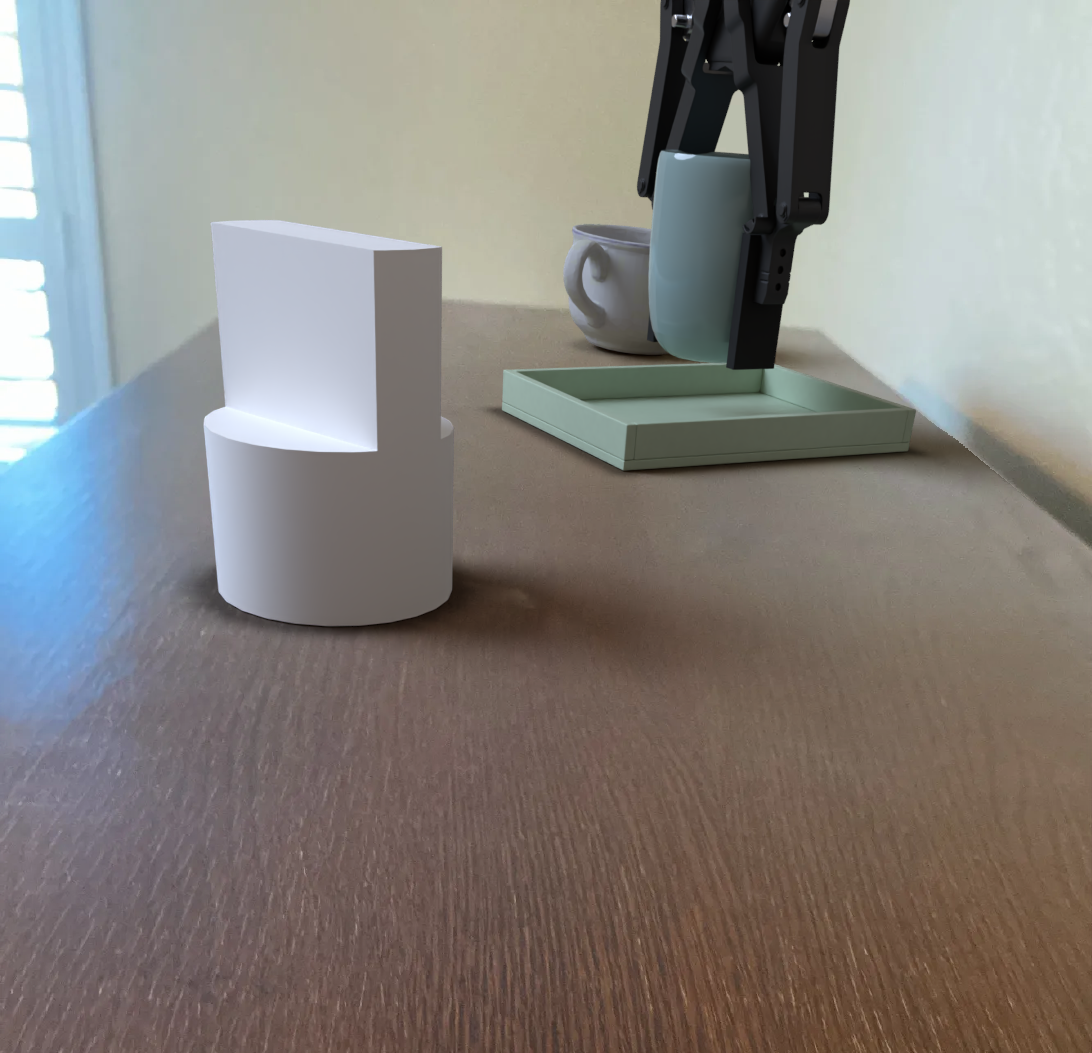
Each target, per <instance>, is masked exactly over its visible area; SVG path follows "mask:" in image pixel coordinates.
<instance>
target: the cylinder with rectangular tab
mask: <svg viewBox="0 0 1092 1053" xmlns="http://www.w3.org/2000/svg"><path fill="white" fill-rule="evenodd" d="M210 228H211V229H210V230H211V231H210V232H211V243H212V245H211V246H212V257H213V270H214V282H215V283H214V284H215V293H216V294H215V295H216V306H217V319H218V320H217V321H218V331H219V344H220V356H221V369H222V370H221V371H222V382H223V395H224V406H223V407H220V408H217V409H214V410H212V411H211V412H209V413H208V414H207V415H205V416H204V418H203V434H204V444H205V455H206V466H207V478H208V490H209V499H210V500H209V501H210V511H211V512H210V513H211V521H212V522H211V524H212V532H213V544H214V555H215V565H216V566H215V568H216V578H217V589H218V590H217V591H218V593H219V594H220V596H221V597H222V599H224V601H225V602H226V603H228V604H229V605H231V606H233V607H236V608H237V609H238V610H240V611H242V612H244V613H248V614H251V615H254V616H258V617H260V618H264V619H268V620H273V621H278V622H284V623H289V624H294V625H295V624H296V625H308V626H309V625H310V626H322V627H352V626H353V627H357V626H359V627H360V626H368V625H369V626H370V625H377V624H387V623H394V622H397V621H402V620H407V619H411V618H416V617H418V616H421V615H423V614H427V613H429V612H431V611H434V610H436V609H437V608H439V607H440V606H442V605H443V604H444V603H446V602H447V601H448V600H449V598H450V596H451V593H452V591H453V559H454V558H453V556H454V555H453V554H454V553H453V552H454V551H453V549H454V547H453V546H454V479H455V478H454V476H455V475H454V473H455V472H454V471H455V470H454V467H455V463H454V462H455V427H454V425H453V423H452V422H451V420H449V419H448V418H446V417H445V416H442V340H443V339H442V332H443V330H442V329H443V327H442V325H443V324H442V322H443V321H442V318H443V315H442V314H443V297H442V296H443V246H440V245H434V244H429V243H421V242H415V241H409V240H404V239H397V238H391V237H385V236H378V235H372V234H367V233H360V232H355V231H348V230H341V229H337V228H336V229H335V228H329V227H323V226H317V225H312V224H311V225H310V224H305V223H301V222H299V223H298V222H293V221H287V220H280V219H252V220H251V219H242V220H221V221H219V220H218V221H211V222H210Z"/></svg>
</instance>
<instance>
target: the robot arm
mask: <svg viewBox="0 0 1092 1053" xmlns="http://www.w3.org/2000/svg"><path fill="white" fill-rule="evenodd" d="M659 2H660V3H659V43H658V50H657V56H656V62H655V68H654V74H653V75H654V76H653V82H652V88H651V94H650V100H649V107H648V112H647V118H646V119H647V121H646V125H645V126H646V127H645V130H644V131H645V132H644V137H643V144H642V150H641V156H640V163H639V168H638V175H637V181H636V192H637V196H639V198H647V199H648V200H649V201H650V203H651V205H650V206H651V209H652V211H653V203H654V192H655V181H656V172H657V164H658V158H659V154H660V152H661V150H681V151H683V152H685V153H690V154H706V153H710V152H716V149H717V146H718V143H719V139H720V136H721V134H722V131H723V127H724V124H725V121H726V118H727V114H728V112H729V108H730V106H731V102H732V99H733V96H734V95H735V93H736V92H738V91H740V92H741V93H742V96H743V107H744V118H745V120H744V121H745V130H746V142H747V154H748V156H749V159H750V180H751V192H752V204H753V216H754V219H751V220H750V221H748V222H746V223H745V224H743V225H742V226H743V230H744V232H745V233H743V234H742V242H741V250H740V258H739V266H738V275H737V283H736V291H735V299H734V307H733V315H732V323H731V331H730V339H729V347H728V355H727V363H726V368H729V369H732V370H748V369H774V364H775V363H776V356H777V349H778V342H779V336H780V328H781V322H782V314H783V308H784V305H785V303H786V300H787V299H788V298H787V297H788V295H789V287H790V281H791V276H792V275H791V273H792V269H793V262H794V255H795V247H796V242H797V239H798V236H800V235H802V233H803V232H804V230H805V229H807V228H810V227H812V226H814V225H815V226H822V225H823V224H825V223H826V221H827V220H828V218H829V213H830V204H831V203H830V202H831V190H832V189H831V187H832V172H833V157H834V156H833V154H834V140H835V139H834V138H835V124H836V123H835V122H836V109H837V92H838V91H837V90H838V77H839V75H838V74H839V63H840V62H839V61H840V60H839V59H840V46H841V43H842V38H843V34H844V29H845V25H846V21H847V17H848V13H849V10H850V9H849V8H850V4H851V0H660V1H659ZM805 194H808V196H805ZM775 199H777V204H776V205H775V206H774V200H775ZM647 340H648V341H651V342H658V341H657V339H656V337H655V335H654V332H653V329H652V325H651V320H650V312H649V322H648V333H647Z"/></svg>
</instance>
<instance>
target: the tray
mask: <svg viewBox="0 0 1092 1053" xmlns="http://www.w3.org/2000/svg"><path fill="white" fill-rule="evenodd" d="M501 398H502V400H501V401H502V402H501V410H502V412H505V413H507V414H509V415H511V416H513V417H515V418H517V419H518V420H521V421H523V422H525V423H527V424H529V425H531V426H533V427H534V428H537V429H539V430H541V431H543V432H545V433H547V434H549V435H551V436H552V437H555V438H557V439H559V440H561V441H563V442H565V443H567V444H569V445H571V446H573V447H575V448H577V449H579V450H582V451H583V452H585V453H587V454H589V455H591V456H593V457H595V458H597V459H598V460H599V459H600V460H601V461H603V462H605V463H607V464H609V465H610V466H611V465H612V466H613V467H615V468H617V469H619V470H621V471H623V472H624V471H625V472H626V471H640V470H651V469H652V470H654V469H669V468H682V467H683V468H684V467H696V466H698V467H699V466H712V465H725V464H741V463H755V462H757V463H758V462H770V461H771V462H773V461H785V460H798V459H799V460H801V459H813V458H814V459H815V458H827V457H828V458H830V457H844V456H856V455H857V456H858V455H872V454H873V455H874V454H886V453H900V452H901V453H902V452H908V451H909V448H910V442H911V438H912V433H913V428H914V423H915V418H916V413H917V410H916V408H912V407H909V406H906V405H903V404H901V403H897V402H894V401H891V400H888V399H884V398H882V397H878V396H876V395H872V394H869V393H866V392H863V391H860V390H858V389H857V390H856V389H854V388H850V387H848V386H844V385H841V384H838V383H834V382H832V381H829V380H825V379H822V378H819V377H817V376H813V375H810V374H806V373H804V372H801V371H797V370H794V369H791V368H789V367H785V366H782V365H779V364H774V369H748V370H732V369H729V368H726V363H706V362H699V363H673V364H671V363H670V364H641V365H640V364H639V365H612V366H611V365H609V366H579V367H578V366H577V367H575V366H574V367H547V368H546V367H545V368H515V369H503V371H502V397H501Z"/></svg>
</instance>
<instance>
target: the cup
mask: <svg viewBox="0 0 1092 1053" xmlns="http://www.w3.org/2000/svg"><path fill="white" fill-rule="evenodd" d="M776 204H777V199H775V200H774V206H775V205H776ZM751 219H754V216H753V204H752V192H751V180H750V159H749V156H748V153H739V152H728V151H727V152H725V151H715V152H710V153H706V154H690V153H685V152H683V151H681V150H661V152H660V154H659V158H658V164H657V172H656V181H655V192H654V203H653V210H652V216H651V228H650V229H651V238H650V253H649V276H648V295H649V312H650V320H651V325H652V329H653V332H654V335H655V337H656V339H657V341H658V343H659V344H660V345H661V347H662V348H663V349H664V350H665V351H667V352H668V354H669V355H671V356H673V357H675V358H678V359H682V360H685V361H691V362H699V363H727V355H728V347H729V339H730V331H731V323H732V315H733V307H734V299H735V291H736V283H737V275H738V266H739V258H740V250H741V242H742V234H743V233H745V232H744V230H743V226H742V225H743V224H745V223H746V222H748V221H750V220H751Z"/></svg>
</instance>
